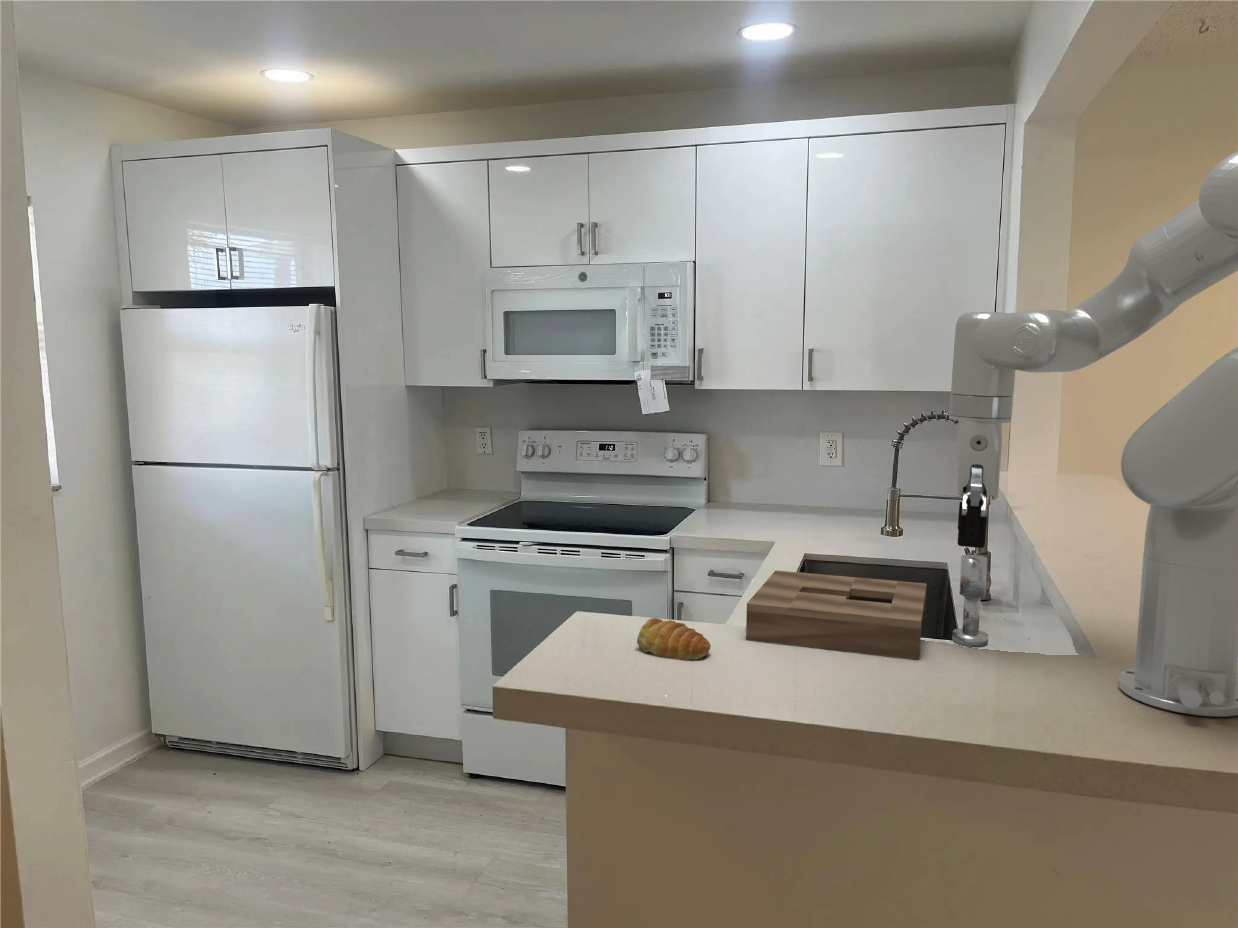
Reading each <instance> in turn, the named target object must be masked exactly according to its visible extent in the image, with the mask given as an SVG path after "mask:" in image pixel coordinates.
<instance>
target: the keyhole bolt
mask: <svg viewBox="0 0 1238 928" xmlns="http://www.w3.org/2000/svg"><path fill="white" fill-rule="evenodd" d="M987 572H988V557H986V556H983V555H980V554H979V555H977V554H964V555H961V556H960V575H959V576H960V577H959V578H960V579H959V595H960V596H962V597H963V609H962V610H963V612H962V613H963V614H962V615H963V616H962V628H956V629H953V630H952V640H951V641H952V642H953V643H954V644H956V645H958V646H962V647H968V648H984V647H987V646H988V645H989V634H988V633H987V632H985V631H982V630H980V614H981V612H980V611H981V598H985V597H986V593H987V589H986V588H987V574H988V573H987Z"/></svg>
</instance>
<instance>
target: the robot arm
mask: <svg viewBox="0 0 1238 928" xmlns="http://www.w3.org/2000/svg"><path fill="white" fill-rule="evenodd" d="M1236 272H1238V150H1237V151H1234V152H1233V153H1232V154H1229V155H1227V156H1226V157H1225V158H1224V159H1222V160H1220V161H1219V162H1218V163H1217V164H1216V165H1215V166H1214V167H1213V168H1212V169H1211V170H1210V171H1209V173H1208V174H1207V175H1206V177H1205V178H1204V180H1203V183H1202V185H1201V187H1200V190H1199V195H1198V200H1196V201H1195V202H1193V203H1191V204H1190V205H1189V206H1187V207H1185V208H1184V209H1183V210H1181V211H1180V212H1178V213H1176V214H1175V215H1173V216H1172V217H1170V218H1169V219H1167V220H1165V221H1164V222H1162V223H1161V224H1159V225H1157V226H1155V227H1154V228H1153V229H1151V230H1150V231H1147V232H1146V233H1145V234H1143V235H1142V236H1141V237H1139V238H1138V239H1136V241H1135V242H1134V243H1133V244H1132V246H1131V247H1130V250H1129V254H1128V257H1127V261H1126V264H1125V266H1124V267H1123V269H1122V270H1121V272H1119V274H1118V275H1117V276H1116V277H1115V278H1114V279H1112V281H1111V282H1109V283H1108V284H1107V285H1106V286H1105V285H1104V287H1103V288H1102V289H1100V290H1098V291H1097V292H1096V293H1094V294H1093V295H1091V296H1089V297H1087V299H1084V300H1083V301H1081V302H1080V303H1078V304H1076V305H1074V306H1073V307H1071V308H1070V309H1067V310H1053V309H1030V310H1029V309H1028V310H1021V311H1015V312H1009V313H1007V312H995V311H977V312H976V311H975V312H966V313H963V314H962V315H960V316H959V317H958V318H957V321H956V323H955V330H954V331H955V332H954V344H953V356H952V357H953V358H952V369H951V370H952V371H951V383H950V385H951V386H950V398H949V410H948V420H951V421H958V424H957V437H956V438H957V439H956V452H955V453H956V455H955V456H956V457H955V458H956V459H955V461H956V462H955V466H956V467H955V474H956V475H955V477H956V478H955V479H956V490H957V491H956V492H957V495H958V496H959V497H960V498H961V501H959V505H958V506H959V509H958V521H957V531H958V532H957V545H958V546H959V547H965V548H966V547H967V548H975V549H976V548H978V549H983V548H984V547H985V546H986V532H987V520H988V516H986V508H987V497H991V499H992V501H996V500H997V499H998V498H999V491H1000V490H999V489H1000V488H999V487H1000V475H1001V474H1000V473H1001V463H1002V462H1001V461H1002V447H1003V446H1002V445H1003V423H1012V416H1013V406H1014V405H1013V404H1014V392H1015V391H1014V390H1015V380H1016V379H1015V378H1016V371H1019V372H1024V373H1034V374H1035V373H1037V374H1038V373H1040V374H1041V373H1042V374H1043V373H1067V372H1074V371H1077V370H1081V369H1084V368H1086V367H1089V366H1091V365H1092V364H1094V363H1096V362H1098V361H1100V360H1102V359H1103V358H1105V357H1106V356H1108V355H1110V354H1112V353H1114V352H1115V351H1117V350H1119V349H1121V348H1122V347H1124V346H1127V345H1128V344H1129V343H1131V342H1133V341H1135V340H1136V339H1137V338H1139V337H1141V336H1143V334H1145V333H1147V332H1148V331H1149V330H1151V329H1152V328H1153V327H1155V326H1156V325H1158V323H1160V322H1161V321H1162V320H1164V319H1165V318H1166V317H1168V316H1170V315H1171V314H1173V312H1175V310H1176V309H1178V308H1179V307H1180V306H1181V305H1182V304H1184V303H1185V302H1187V301H1188V300H1190V299H1192V298H1194V297H1195V296H1197V295H1199V294H1200V293H1202V292H1204V291H1205V290H1207V289H1209V288H1210V287H1212V286H1214V285H1215V284H1217V283H1219V282H1221V281H1223V280H1224V279H1226V278H1227V277H1230V275H1231V276H1232V274H1233V275H1234V274H1235V273H1236ZM1120 471H1121V476H1122V478H1123V481H1124V483H1125V485H1126V487H1127V488H1128V489H1129V491H1130V492H1131V493H1132V494H1133V495H1134V496H1136V498H1138V499H1139V500H1140V501H1142V502H1144V503H1146V504H1148V505H1150V507H1149V510H1148V515H1147V520H1146V525H1145V534H1144V535H1145V536H1144V545H1143V554H1142V556H1143V557H1142V567H1141V568H1142V570H1141V580H1140V593H1139V605H1138V606H1139V607H1138V609H1139V610H1138V621H1137V635H1136V648H1135V650H1136V651H1135V662H1134V667H1133V668H1127V669H1125V670H1122V671H1121V672H1120V673H1119V674H1118V679H1117V681H1118V682H1117V685H1118V687H1119V689H1120V690H1121V691H1122V692H1123V693H1124V694H1125V695H1127V696H1128V697H1131V698H1132V699H1134V700H1136V701H1138V702H1140V703H1141V702H1142V703H1144V704H1147V705H1149V706H1152V707H1156V708H1158V709H1162V710H1166V711H1170V712H1175V713H1181V714H1187V715H1191V716H1200V717H1201V716H1202V717H1216V718H1220V717H1223V718H1225V717H1235V716H1238V685H1237V684H1236V683H1237V675H1238V674H1237V672H1238V671H1237V670H1238V346H1237V347H1235V348H1234V349H1232V350H1230V351H1228V352H1227V353H1226V354H1224V355H1222V356H1221V357H1219V358H1218V359H1217V360H1216V361H1214V362H1213V363H1212V364H1211V365H1210V366H1209V367H1207V368H1206V369H1205V370H1204V371H1202V372H1201V373H1200V374H1199V375H1198V376H1196V378H1194V379H1193V380H1192V381H1190V383H1188V384H1187V385H1186V386H1185V387H1184V388H1183V389H1181V390H1180V391H1179V392H1177V394H1175V395H1174V396H1173V397H1171V399H1169V400H1168V401H1167V402H1166V403H1165V404H1164V405H1163V406H1161V407H1160V408H1159V409H1158V410H1157V411H1155V412H1154V413H1153V414H1152V415H1151V416H1150V417H1149V418H1148V419H1146V420H1145V421H1144V422H1143V423H1142V424H1141V425H1139V427H1138V428H1136V430H1135V431H1134V432H1132V434H1131V435H1130V437H1128V440H1127V441H1126V442H1125V445H1124V447H1123V450H1122V454H1121V458H1120Z"/></svg>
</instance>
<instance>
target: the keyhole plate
mask: <svg viewBox="0 0 1238 928" xmlns="http://www.w3.org/2000/svg"><path fill="white" fill-rule="evenodd" d="M926 601H927V583H925V582H912V581H903V580H889V579H878V578H866V577H854V576H853V577H852V576H844V575H831V574H823V573H822V574H821V573H820V574H819V573H811V572H810V573H809V572H799V571H798V572H797V571H788V570H787V571H786V570H777V569H775V570H774V571H773V572H772V574H771V575H770V576H769V577H768V579H766V581H765V582H764V583H763V584H762V586H761V587H760V588H759V589H758V590H757V591H756V592H755V593H754V595H752V597H751V598H750V599H749V600H748V601H747V603H746V620H745V621H746V624H745V625H746V627H745V631H746V632H745V641H754V642H760V643H761V642H762V643H770V644H777V645H778V644H780V645H788V646H796V647H804V648H812V649H819V650H820V649H821V650H822V649H823V650H831V651H838V652H848V653H855V654H856V653H857V654H862V655H863V654H864V655H873V656H879V657H880V656H881V657H891V658H896V659H897V658H900V659H907V660H917V661H920V657H921V641H922V640H921V638H922V637H921V636H922V634H921V633H922V622H923V620H926V608H927V607H926V604H927V602H926Z"/></svg>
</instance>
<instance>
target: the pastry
mask: <svg viewBox="0 0 1238 928" xmlns="http://www.w3.org/2000/svg"><path fill="white" fill-rule="evenodd" d="M636 643H637V645H638V646H639V647H640V648H641V649H642V651H643V652H645V653H648V652H650V653H651V654H653V655H654V656H657V657H661V658H663V657H665V658H668V659H674V660H681V661H687V660H699V659H702V658H703V657H705V656H707V655H708V654H709V652H710V650H711V643H710V641H709V640H708V639H707V638H706V637H705V636H704V634H702V633H700V632H697V631H696V629H694V628H691V627H688V625H686V624H685V623H684V622H677V621H675V620H670V619H669V620H666V621H664V620H663V619H661V618H657V617H652V618H650V619H648V620H646V622H645V624H643V625H642V627H640V630H639V633H638V636H637V639H636Z"/></svg>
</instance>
